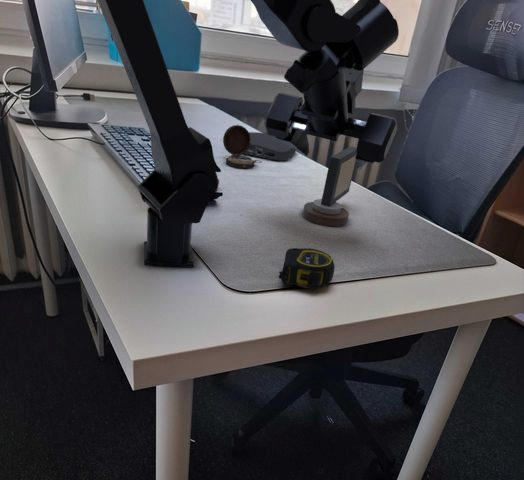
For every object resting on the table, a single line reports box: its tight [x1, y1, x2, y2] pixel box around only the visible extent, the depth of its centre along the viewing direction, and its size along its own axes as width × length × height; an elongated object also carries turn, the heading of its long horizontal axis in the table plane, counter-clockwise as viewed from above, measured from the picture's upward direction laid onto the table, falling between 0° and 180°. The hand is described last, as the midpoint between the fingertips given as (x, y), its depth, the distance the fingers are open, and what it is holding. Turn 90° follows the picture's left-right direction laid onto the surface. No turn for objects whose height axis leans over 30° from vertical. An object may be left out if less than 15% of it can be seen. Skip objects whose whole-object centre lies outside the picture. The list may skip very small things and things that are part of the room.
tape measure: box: [278, 247, 336, 290], centre depth 67 cm, size 7×7×4 cm
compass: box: [222, 124, 263, 169], centre depth 110 cm, size 8×8×7 cm
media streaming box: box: [244, 131, 297, 161], centre depth 123 cm, size 15×15×3 cm
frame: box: [312, 145, 357, 215], centre depth 90 cm, size 12×5×9 cm, turn 154°
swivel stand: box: [302, 201, 350, 228], centre depth 90 cm, size 8×8×2 cm
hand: (333, 160), depth 83 cm, fingers open, 9 cm apart
